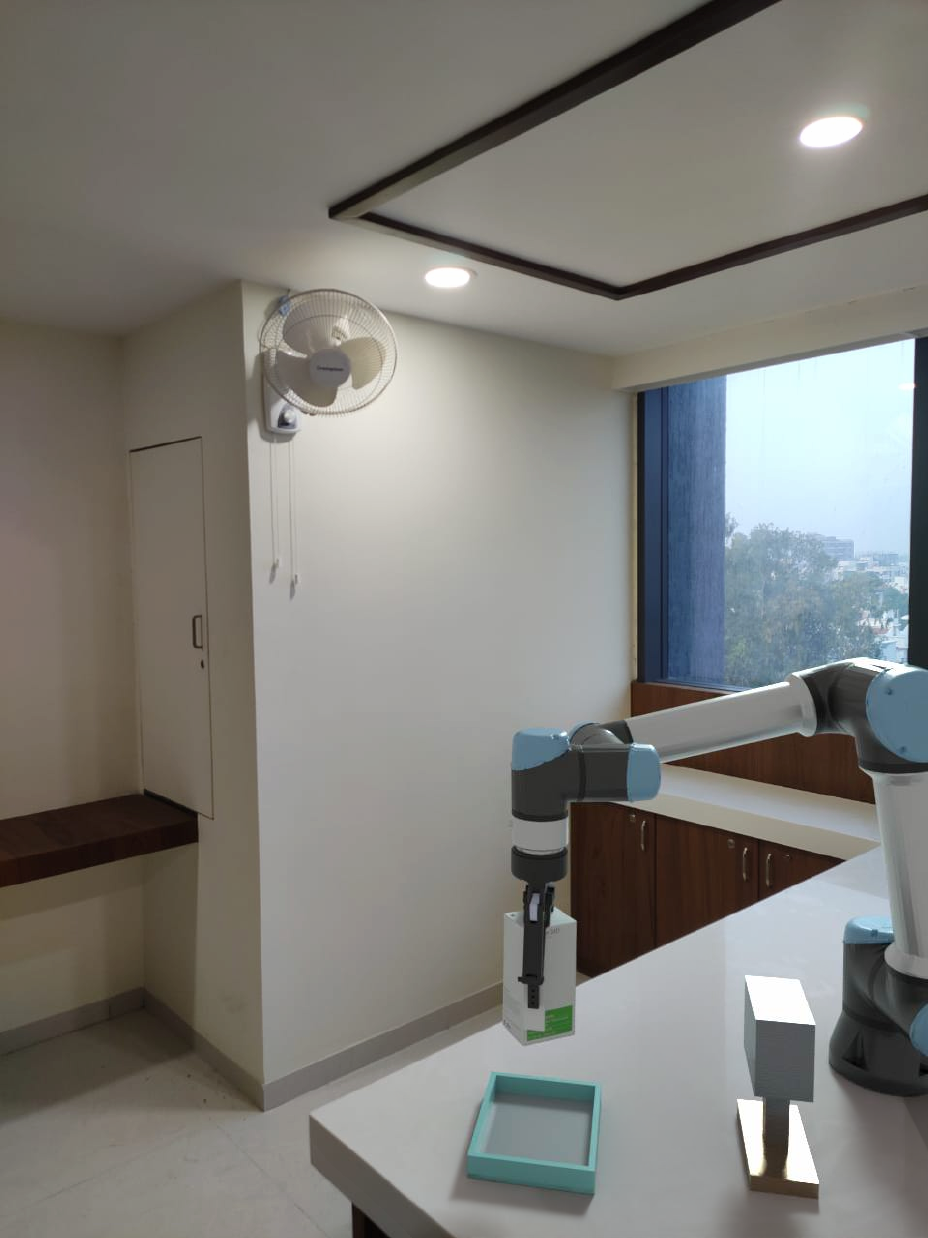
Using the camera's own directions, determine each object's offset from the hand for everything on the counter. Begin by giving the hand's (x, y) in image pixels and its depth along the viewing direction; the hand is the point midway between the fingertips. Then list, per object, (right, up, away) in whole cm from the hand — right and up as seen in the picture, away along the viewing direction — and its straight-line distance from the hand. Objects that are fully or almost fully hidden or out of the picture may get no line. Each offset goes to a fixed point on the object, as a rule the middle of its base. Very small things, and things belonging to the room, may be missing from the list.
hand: (538, 1009), depth 121 cm
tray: (0, -18, +1) cm, 18 cm away
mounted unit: (+31, -18, -2) cm, 36 cm away
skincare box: (0, -3, 0) cm, 3 cm away
